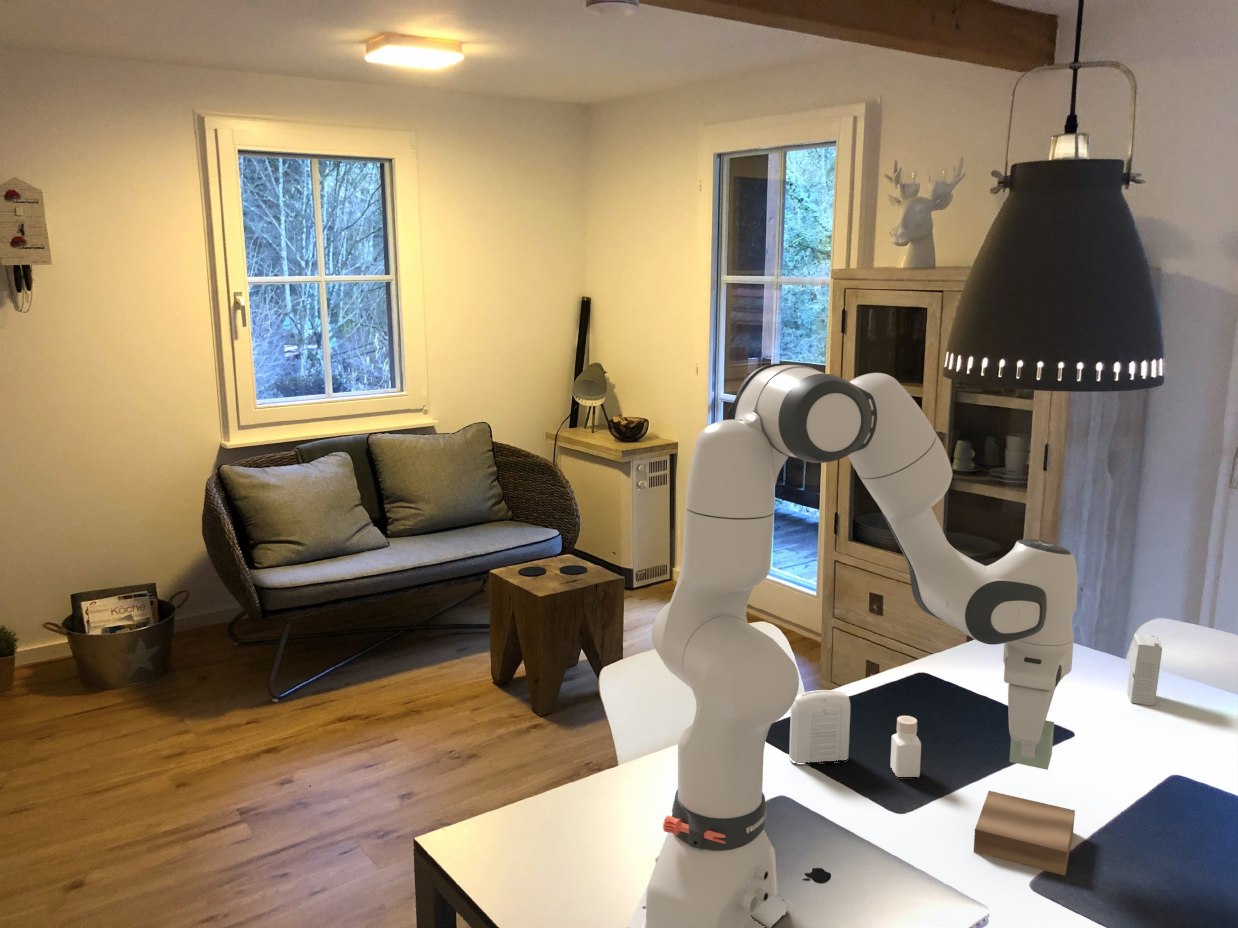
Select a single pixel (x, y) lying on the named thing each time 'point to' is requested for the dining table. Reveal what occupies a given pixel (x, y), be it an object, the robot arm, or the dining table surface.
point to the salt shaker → (906, 748)
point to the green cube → (1042, 749)
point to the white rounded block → (819, 726)
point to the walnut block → (1025, 832)
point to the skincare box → (1144, 669)
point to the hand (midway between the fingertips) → (1031, 745)
